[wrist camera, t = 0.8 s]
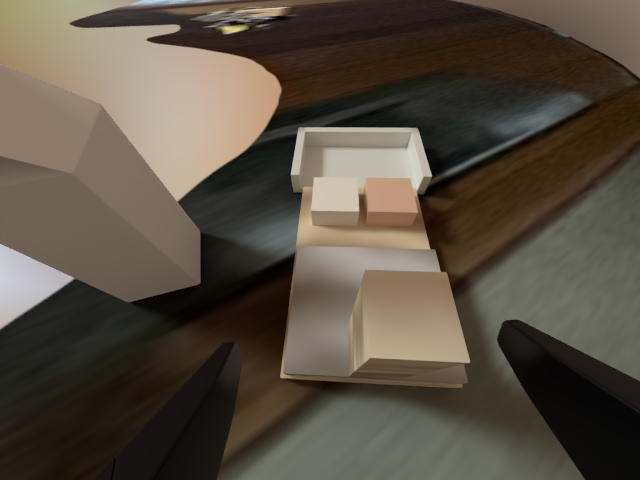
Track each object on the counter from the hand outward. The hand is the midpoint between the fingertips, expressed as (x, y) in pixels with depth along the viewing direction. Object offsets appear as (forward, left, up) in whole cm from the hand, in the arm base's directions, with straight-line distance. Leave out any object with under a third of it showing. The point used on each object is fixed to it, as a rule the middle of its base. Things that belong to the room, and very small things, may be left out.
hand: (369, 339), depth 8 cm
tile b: (+14, -10, -13) cm, 22 cm away
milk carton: (+16, +15, -15) cm, 26 cm away
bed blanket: (+4, -3, -13) cm, 14 cm away
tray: (+24, -11, -14) cm, 30 cm away
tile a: (+16, -5, -13) cm, 21 cm away
